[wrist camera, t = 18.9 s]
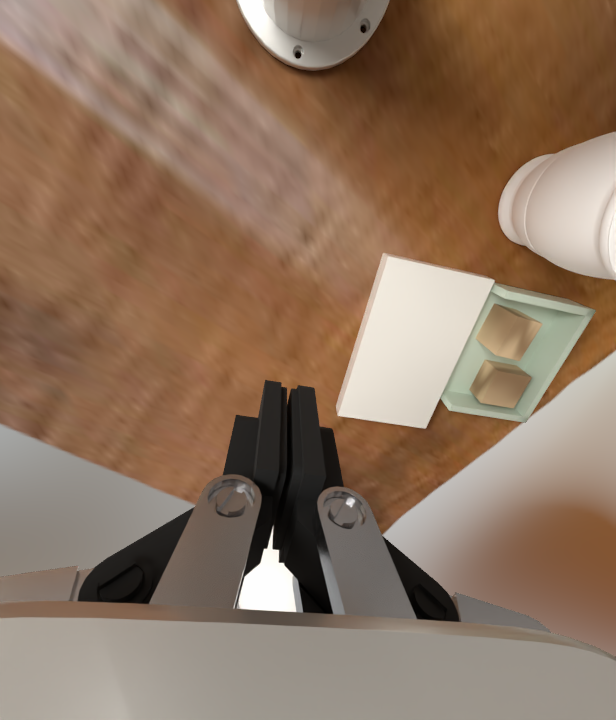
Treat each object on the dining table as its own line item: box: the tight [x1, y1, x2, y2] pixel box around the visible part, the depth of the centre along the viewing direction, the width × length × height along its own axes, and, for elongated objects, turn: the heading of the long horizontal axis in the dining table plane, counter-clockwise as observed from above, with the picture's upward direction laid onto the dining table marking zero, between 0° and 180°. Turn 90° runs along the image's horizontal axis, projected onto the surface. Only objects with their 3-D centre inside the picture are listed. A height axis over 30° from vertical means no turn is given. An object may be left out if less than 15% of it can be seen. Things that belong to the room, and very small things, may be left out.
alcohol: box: [239, 528, 296, 612], centre depth 35 cm, size 9×9×30 cm
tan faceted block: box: [475, 303, 542, 361], centre depth 38 cm, size 4×4×3 cm
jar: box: [498, 132, 616, 281], centre depth 28 cm, size 11×10×15 cm
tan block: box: [469, 360, 532, 408], centre depth 42 cm, size 4×4×3 cm
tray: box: [440, 283, 596, 423], centre depth 40 cm, size 15×10×4 cm
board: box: [336, 253, 495, 429], centre depth 40 cm, size 20×12×2 cm, turn 168°
